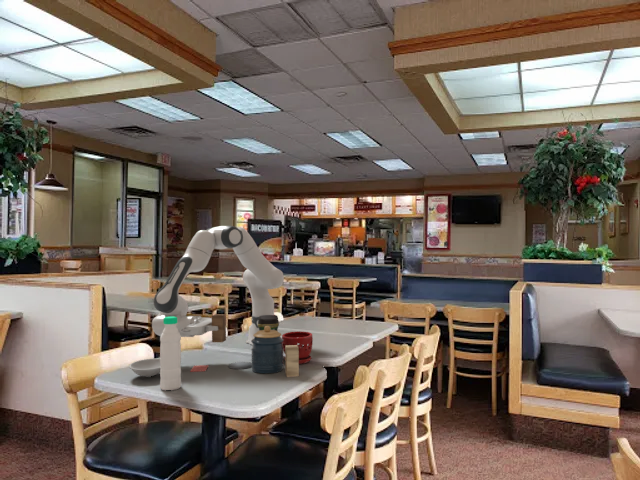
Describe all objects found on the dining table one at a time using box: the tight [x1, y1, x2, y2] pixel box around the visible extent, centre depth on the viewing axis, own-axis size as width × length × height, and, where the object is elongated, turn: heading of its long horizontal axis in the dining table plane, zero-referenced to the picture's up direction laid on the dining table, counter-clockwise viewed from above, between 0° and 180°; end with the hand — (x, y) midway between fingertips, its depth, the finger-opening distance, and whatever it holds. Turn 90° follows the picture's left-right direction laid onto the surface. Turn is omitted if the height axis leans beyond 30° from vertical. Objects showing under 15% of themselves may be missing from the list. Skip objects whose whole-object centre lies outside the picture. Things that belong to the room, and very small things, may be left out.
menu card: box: [189, 364, 210, 373], centre depth 195 cm, size 9×6×1 cm, turn 5°
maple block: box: [284, 344, 300, 378], centre depth 185 cm, size 4×4×11 cm
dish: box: [128, 358, 161, 378], centre depth 184 cm, size 18×14×5 cm
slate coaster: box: [228, 361, 252, 370], centre depth 199 cm, size 10×10×1 cm
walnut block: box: [211, 313, 227, 343], centre depth 202 cm, size 4×4×11 cm
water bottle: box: [159, 316, 182, 391], centre depth 169 cm, size 7×7×25 cm
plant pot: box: [281, 331, 314, 365], centre depth 206 cm, size 13×13×12 cm
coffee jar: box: [258, 314, 280, 332], centre depth 217 cm, size 10×8×19 cm
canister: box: [250, 326, 285, 374], centre depth 193 cm, size 13×13×18 cm
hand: (221, 326), depth 202 cm, fingers closed on walnut block, 4 cm apart
